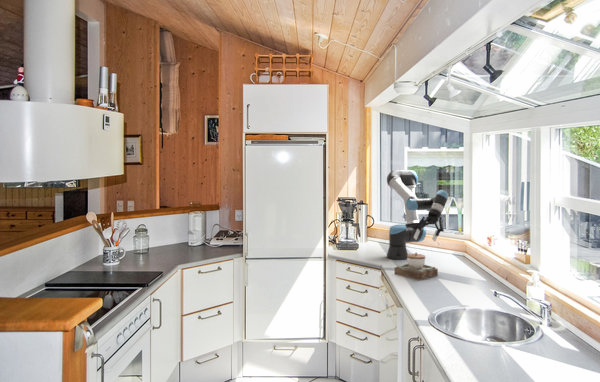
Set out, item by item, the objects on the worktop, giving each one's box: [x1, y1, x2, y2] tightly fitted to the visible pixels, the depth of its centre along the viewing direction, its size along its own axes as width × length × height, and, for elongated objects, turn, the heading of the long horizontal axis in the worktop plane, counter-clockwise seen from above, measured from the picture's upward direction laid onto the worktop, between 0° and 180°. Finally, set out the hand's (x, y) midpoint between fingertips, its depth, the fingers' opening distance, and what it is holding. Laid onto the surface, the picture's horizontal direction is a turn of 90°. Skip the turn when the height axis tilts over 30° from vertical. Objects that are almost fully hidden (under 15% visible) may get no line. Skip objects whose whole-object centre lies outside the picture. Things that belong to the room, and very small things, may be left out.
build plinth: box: [394, 263, 439, 281], centre depth 261 cm, size 18×18×5 cm
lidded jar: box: [406, 252, 426, 269], centre depth 260 cm, size 11×11×9 cm
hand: (424, 239), depth 268 cm, fingers open, 13 cm apart
